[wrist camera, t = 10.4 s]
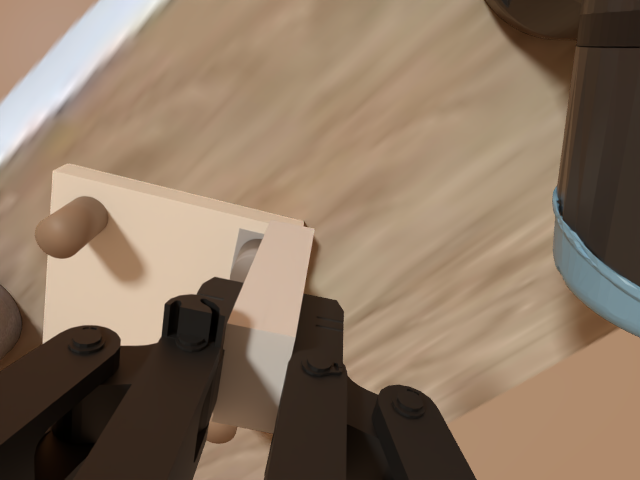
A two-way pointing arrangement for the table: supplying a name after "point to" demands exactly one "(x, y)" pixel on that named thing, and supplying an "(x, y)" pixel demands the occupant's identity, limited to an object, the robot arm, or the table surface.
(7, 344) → the pillar candle
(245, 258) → the folding leg
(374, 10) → the table surface
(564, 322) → the table surface
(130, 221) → the stool seat
